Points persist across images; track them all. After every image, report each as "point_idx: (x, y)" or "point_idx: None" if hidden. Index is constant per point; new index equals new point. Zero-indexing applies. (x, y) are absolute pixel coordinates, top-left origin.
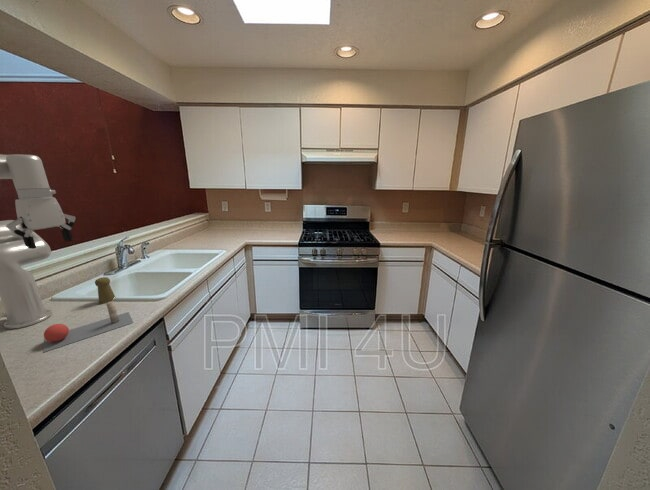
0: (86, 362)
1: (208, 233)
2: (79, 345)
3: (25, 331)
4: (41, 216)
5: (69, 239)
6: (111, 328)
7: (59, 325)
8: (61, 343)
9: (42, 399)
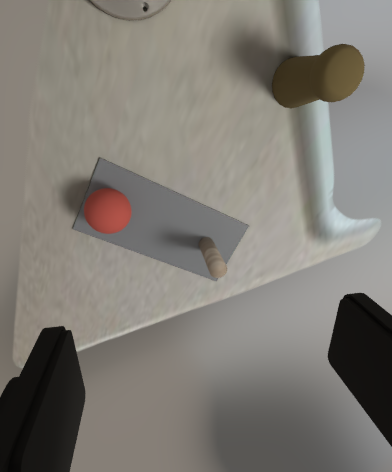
0: (99, 329)
1: None
2: (120, 266)
3: (87, 48)
4: None
5: (339, 370)
6: (184, 263)
7: (113, 225)
8: None
9: None
